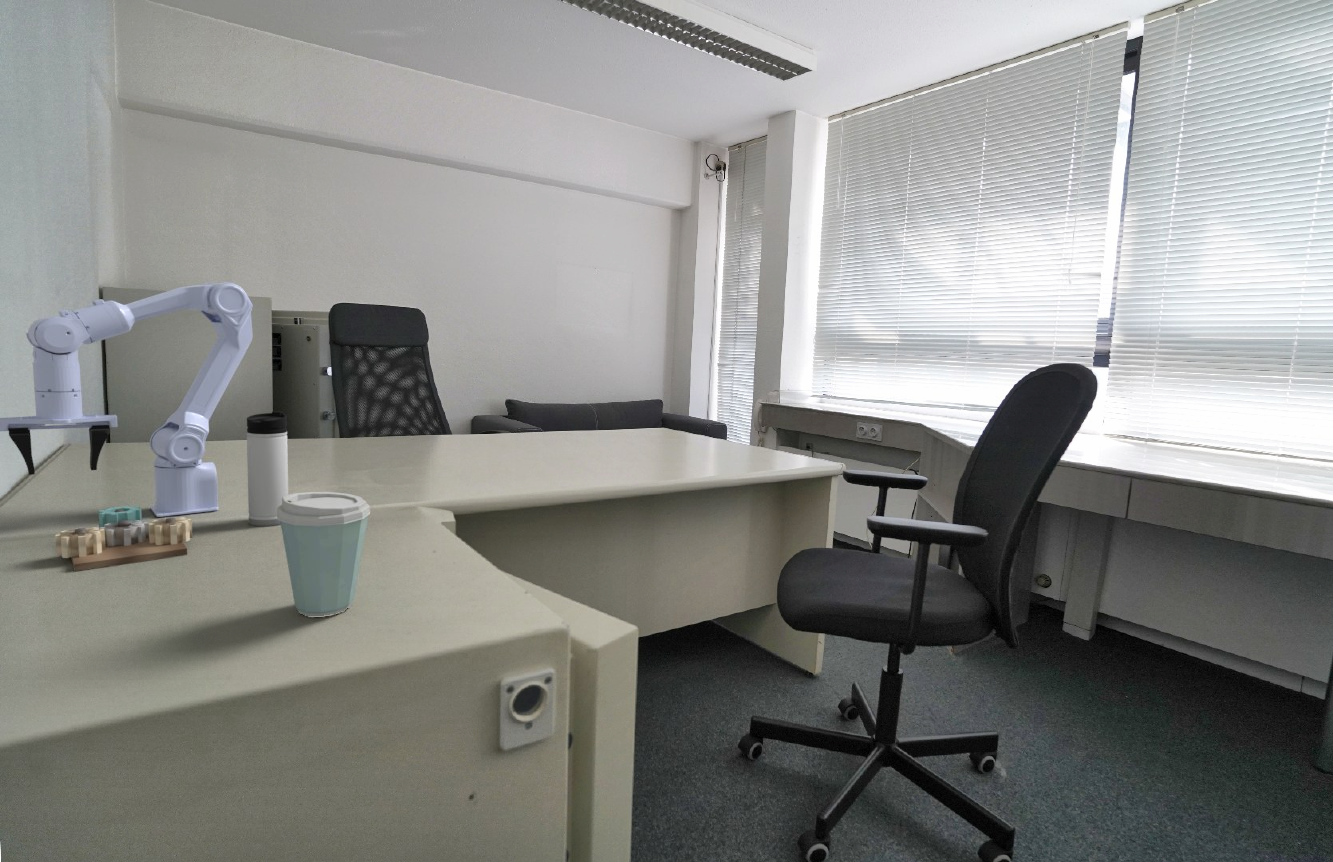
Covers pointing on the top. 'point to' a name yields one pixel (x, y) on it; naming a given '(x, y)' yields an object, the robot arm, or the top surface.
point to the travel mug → (266, 466)
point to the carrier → (124, 542)
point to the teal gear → (119, 515)
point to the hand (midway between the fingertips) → (63, 471)
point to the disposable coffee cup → (323, 548)
